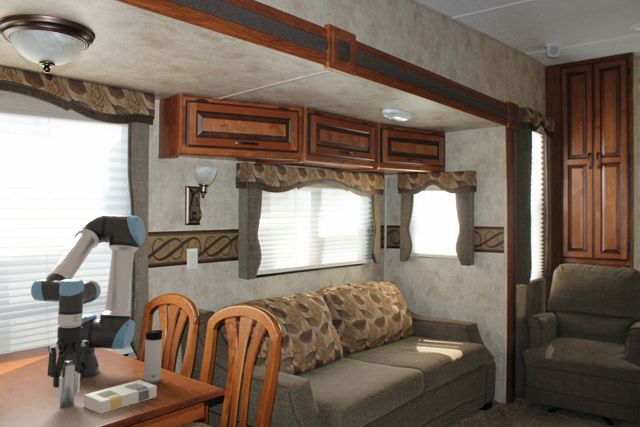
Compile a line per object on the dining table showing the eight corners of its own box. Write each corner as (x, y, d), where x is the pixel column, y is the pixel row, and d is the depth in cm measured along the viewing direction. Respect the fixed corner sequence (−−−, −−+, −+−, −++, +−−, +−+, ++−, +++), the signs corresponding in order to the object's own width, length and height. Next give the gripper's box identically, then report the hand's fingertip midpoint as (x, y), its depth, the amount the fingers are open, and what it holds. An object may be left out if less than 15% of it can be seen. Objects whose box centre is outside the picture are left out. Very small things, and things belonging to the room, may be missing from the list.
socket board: (83, 406, 185) (84, 394, 185) (139, 390, 203) (139, 379, 203) (101, 414, 179) (101, 401, 179) (156, 397, 197) (157, 385, 197)
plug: (57, 405, 185) (58, 361, 185) (69, 402, 188) (71, 359, 188) (64, 408, 182) (65, 364, 182) (76, 405, 186) (78, 361, 186)
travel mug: (156, 384, 211) (158, 332, 210) (140, 382, 212) (142, 331, 212) (164, 379, 217) (166, 329, 217) (148, 378, 218) (150, 327, 218)
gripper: (48, 331, 175) (45, 404, 176) (101, 323, 191) (98, 389, 191) (36, 327, 180) (33, 398, 180) (89, 320, 195) (86, 385, 195)
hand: (67, 393), depth 185 cm, fingers open, 6 cm apart
